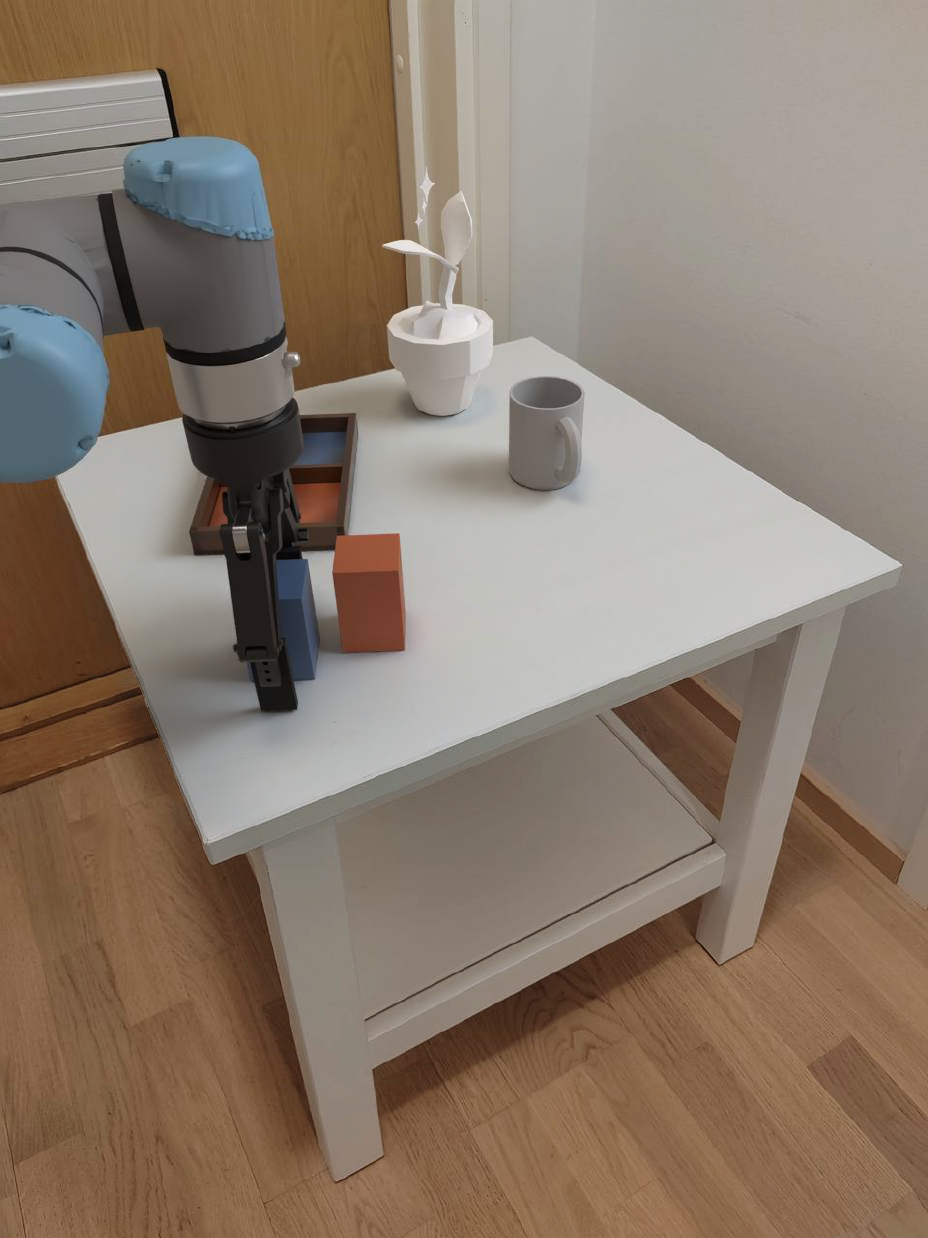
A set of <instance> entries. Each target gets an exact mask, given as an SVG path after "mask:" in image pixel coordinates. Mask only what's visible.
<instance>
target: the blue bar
mask: <svg viewBox="0 0 928 1238" xmlns="http://www.w3.org/2000/svg"><path fill="white" fill-rule="evenodd" d="M276 564H277V579H278V594H279V609H280V624H281V637H286V642H287V647H288V652H289V658H290V663H291V668H292V673H293V679H294V681H303V680H305V681H306V680H315V679H316V673H317V666H318V665H317V664H318V657H319V656H318V655H319V647H320V639H321V637H320V629H319V625H318V617H317V611H316V604H315V598H314V592H313V585H312V579H311V578H312V577H311V572H310V564H309V559H308V558H303V559H293V560H276ZM245 663H246V666H247V671H248V676H249V680H250V682H251V683H254V678H253V674H252V669H251V665H250V662H245Z"/></svg>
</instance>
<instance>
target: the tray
mask: <svg viewBox="0 0 928 1238" xmlns="http://www.w3.org/2000/svg"><path fill="white" fill-rule="evenodd" d="M299 416H300V422H301V429H302V436H303V443H304V446H303V451H302V454H301V456H300V458H299V459H298V460H297V461H296V462H295V463H294V464H293V465H292V466H291V467H289V471H290V475H291V479H292V483H293V487H294V491H295V495H296V499H297V503H298V507H299V511H300V513H301V519H300V523H297V527H298V528H308V534H309V540H308V542H302V543H295V546H301V552H308V551H311V552H312V551H335V545H336V537H337V536H343V535H349V531H350V520H351V510H352V509H351V508H352V500H353V499H352V498H353V490H354V481H355V480H354V479H355V469H356V460H357V451H358V449H357V448H358V439H359V427H358V419H357V412H345V413H343V412H341V413H317V414H314V413H313V414H312V413H311V414H299ZM227 490H228V487H227V486H226V485H225V484H223V483H222V482H220V481H218V480H216V479H213V478H210V477H208V476H206V479H205V481H204V485H203V488H202V491H201V493H200V497H199V500H198V503H197V506H196V509H195V512H194V515H193V517H192V521H191V524H190V527H189V531H188V534H189V538H190V543H191V547H192V552H193V554H194V556H203V555H205V556H206V555H225V553H224V549H223V544H222V540H221V537H220V534H219V530H220V526H221V524H228V521H227V517H226V515H225V514H224V512H223V503H222V493H223V491H227ZM264 542H267V540H266V538H265V541H264Z"/></svg>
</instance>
